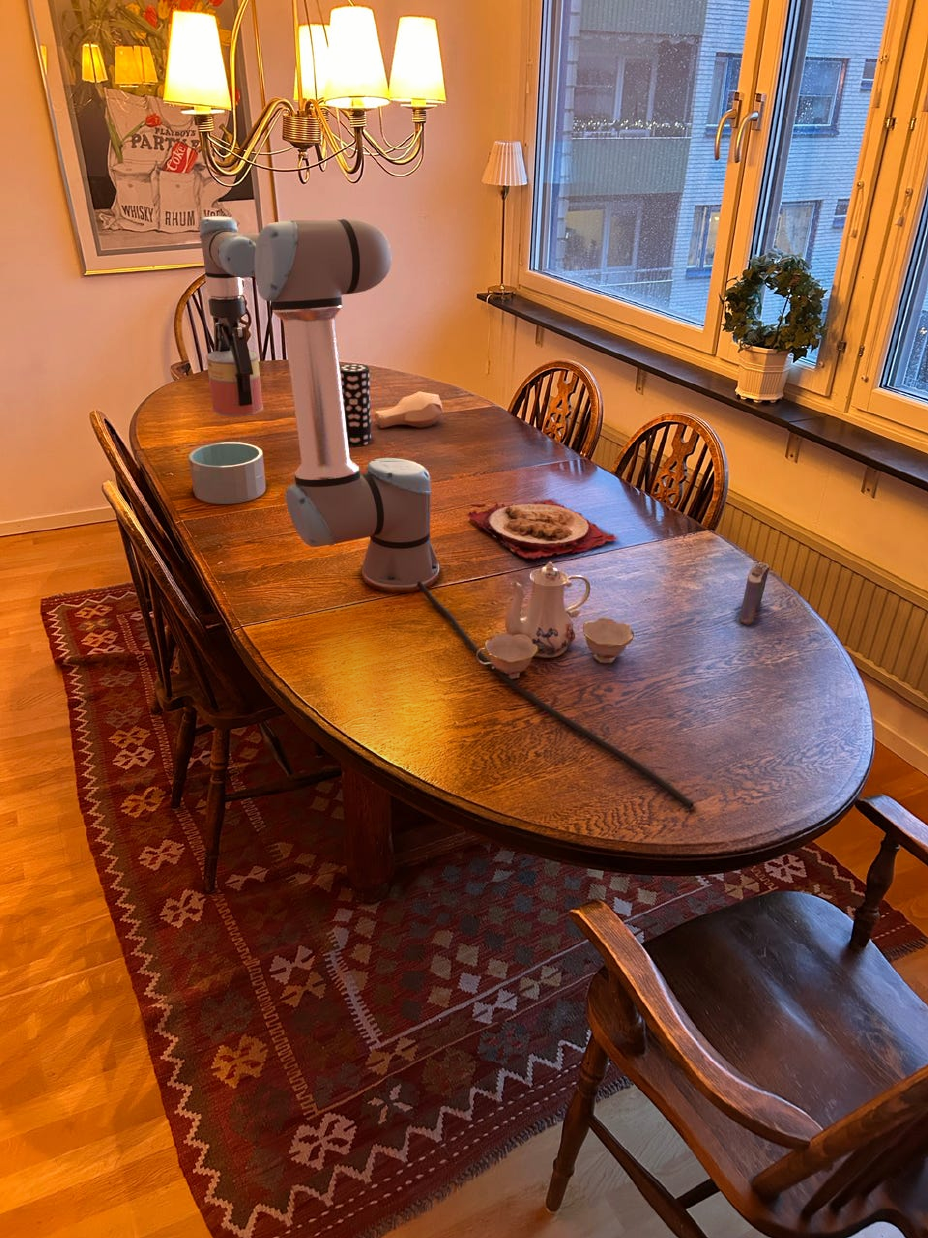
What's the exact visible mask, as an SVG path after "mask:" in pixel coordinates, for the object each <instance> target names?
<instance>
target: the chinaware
mask: <svg viewBox="0 0 928 1238" xmlns="http://www.w3.org/2000/svg"><path fill="white" fill-rule="evenodd" d="M529 578H530V581H531V582H530V583H531V593H530V597H529V601H528V603H527V604H526V607H525V609H524V611H522V608H523V602H524V588H523V586H522V585H521V584H520V583H519V582H516V581H512V582H510V585H511V586H512V587H513V589H514V595H513V598H512V601H511V603H510V605H509V607H508V609H507V610H508V611H506V615H505V621H504V626H505V628H504V629H505V631H506V632H498V633H496V634H494V635H493V636H492V638H491V639H490V640H486V641H485V643H484V644H483V647H481V648H478V649H479V650H478V652H477V654H475V658H476V661H477V662H478V663H479V664H480V665H484V666H487V664H493V667H492V669H493V668H496V669H497V670H499V671H500V672H502V673H505V674H506V675H507V676H508V677H510V678H511V679H512V680H514V679H516V678H520V674H521V673H522V672H523V671H525V670H526V669H527V668H528V667H529V665H530V664H531V662H532V659H533V658H534V657H535V658H540V659H550V658H551V659H552V658H557V657H560V656H562V655H563V654H565V653H566V652H567V649H568V646H570V645H571V644H573V642H574V641H575V640H576V632H575V630H574V624H573V622H572V619H575V618H577V617H578V616H579V614H580V609H579V607H581V606H583V605H584V603H585V602H586V601H587V600H588V598H589V596H590V594H591V585H590V582H589V580H588V579H587V578H586V577H585V576H583V575H579V574H574V575H569V576H568V574H567V573H566V572H564V571H562V570H560V569H558V568H556V567H555V564H553V562H552V561H548V562H547V563H546V564H545V566H544V567H542V568H538V569H534V570H533V571H531V572H530V573H529ZM570 580H582V581H583V582H584V584H585V591H584V594H583V596H582V597H581V599H580V600H579V601H578V602H576V603H575V604H574V605H571V606H569V607H567V608H566V609H565V601H564V599H565V598H564V597H565V588H566V587H567V588H571V587H572V586H573V583H572V582H571V581H570ZM582 625H583V626H582V632H583V636H584V638H585V641H586V645H587V646H588V649H589V650H590V651H591V653H592V654H594V655H593V658H594V659H595V660H596V661H598V662H599V663H604V664H605V663H606V664H612V662H613V661H614V660H616V657H618V656H619V655H621V654H622V653H623V652H625V650H626V648H627V646H628V645H630V644H631V642H633V640H634V637H635V632H634V631H633V629H632V627H631V626H630V625H629V624H627V623H626V622H616V621H615V620H614V619H612V618H609V617H600V618H597V619H596V620H594V621H586V622H584V623H583V624H582ZM483 650H484V653H487V654H488V656H489V660H490V661H491V662H488V663H484V662H483V661H482V660H481V659H480V658H479V657H478V653H479V652H480V651H481V652H482V651H483Z"/></svg>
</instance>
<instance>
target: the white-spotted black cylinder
mask: <svg viewBox="0 0 928 1238" xmlns="http://www.w3.org/2000/svg"><path fill="white" fill-rule="evenodd" d="M340 373H341V382H342V391H343V401H344V410H345V419H346V428H347V438H348V446H351V447H360V446H366V445H369V444H370V443H371V442H372V419H371V418H372V417H371V382H370V380H371V379H370V367H369V366H368V365H366V364H364V363H363V364H362V363H345V364H344V363H343V364H341V365H340Z"/></svg>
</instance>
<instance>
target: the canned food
mask: <svg viewBox="0 0 928 1238" xmlns="http://www.w3.org/2000/svg"><path fill="white" fill-rule="evenodd" d="M249 354H250V359H251V364H252V369H253V375H250V385H251V396H252V405H245V406H240V405H239V396H238V387H237V377H235V374H236V373H237V369H236V362H234V359H233V355H232V352H231V351H223V352H220V351H214V350H213V351H211V352H208V353H207V354H206V355H205V359H206V365H207V373H208V381H209V389H210V398H211V405H212V406H211V407H212V408H211V410H212V412H213V413H214V414H216V415H219V416H223V417H248V416H252V415H256V414H259V413H260V412H262V411H263V410H264V405H263V395H262V383H261V371H260V362H259V354H258V352H256V351H253V350H250V349H249ZM244 370H245V369H244Z"/></svg>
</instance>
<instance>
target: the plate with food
mask: <svg viewBox="0 0 928 1238" xmlns="http://www.w3.org/2000/svg"><path fill="white" fill-rule="evenodd" d="M500 505H501V506H500ZM500 505H499V503H495V505H494V506H492V507H491V508H488V509H487V510H486V509H484V510H485V511H479V512H477V511H476V510H473V511H472V512H471V511H469V512H468V513H466V512H464V513H465V515H466V516H467V517H468V518H469V520H470V521H471V522H472V521H474V522H476V523H477V528H479V529H484V531H486V532H488V533H489V534H491V535H492V537H493V538H495V539H497V536H496V535H495V534H494V532H492V531H491V530H493V531H495V533H498V534H499V535H500V536H501V537H502V540H500V541H499V542H500V543H503V544H502V546H504V547H505V548H508V549H510V552H512V553H514V554H515V555H517V556H520V557H521V558H524V559H532V560H535V559H541V557H551V556H553V555H554V554H555V555H562V554H566V553H568V554H570V553H569V552H571V554H576V553H581V552H586V551H589V550H593V548H595V547H597V546H602V545H604V544H605V543H606V542H612V541H615V540H616V539H618V538H619V536H614V534H613V533H611V534H609V533H607V532H605V531H603V530H601V529H600V528H599V527H598V526H597V524H596V523H592V522H590V521H589V520H588V519H587V518H584V516H583V514H582V513H581V512H577V511H574V510H573V509H572V508H567V507H566V506H564V505H561V504H560V503H556V502H554V501H553V500H552V499H547V500H541V501H540V502H539V501H538V500H537V501H534V502H527V503H515V504H509V505H506V504H504V503H502V504H500ZM470 506H471V507H475V508H479V509H480V508H483V507H484V508H485V507H487V505H486V504H485V503H483V504H479V503H477V504H476V503H475V504H471V505H470Z"/></svg>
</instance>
